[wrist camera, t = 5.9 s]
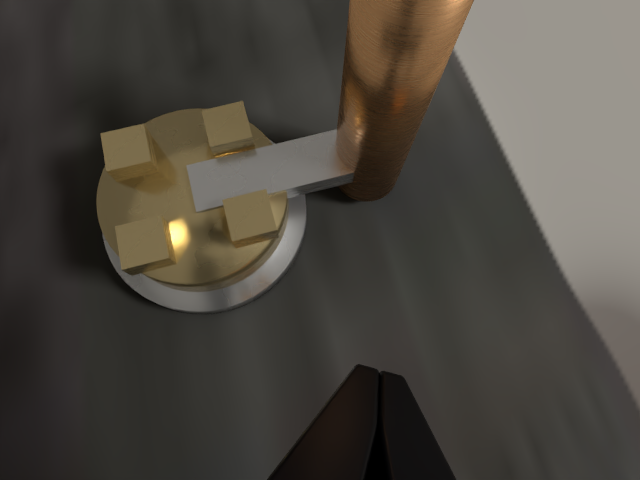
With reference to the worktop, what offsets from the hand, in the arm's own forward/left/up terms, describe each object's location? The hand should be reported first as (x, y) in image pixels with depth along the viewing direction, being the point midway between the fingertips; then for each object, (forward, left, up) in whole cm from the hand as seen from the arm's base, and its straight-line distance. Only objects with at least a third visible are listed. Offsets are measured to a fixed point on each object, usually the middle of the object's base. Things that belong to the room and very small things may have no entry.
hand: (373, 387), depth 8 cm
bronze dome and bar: (+5, +8, -12) cm, 15 cm away
